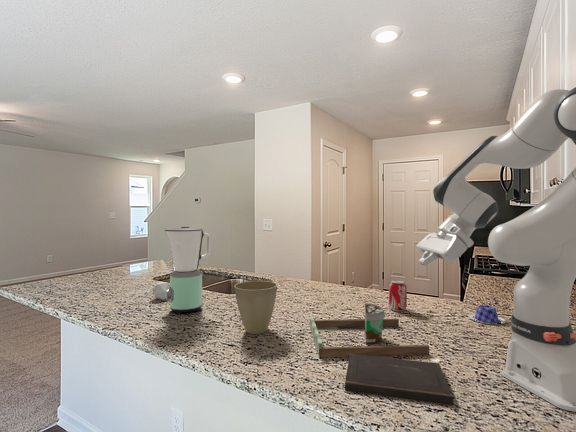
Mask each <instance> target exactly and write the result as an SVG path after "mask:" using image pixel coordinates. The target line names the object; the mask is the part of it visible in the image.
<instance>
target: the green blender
mask: <svg viewBox="0 0 576 432" xmlns="http://www.w3.org/2000/svg"><path fill="white" fill-rule="evenodd" d="M164 232H165V233H166V235H167V237H168V240H169V244H170V248H171V249H170V250H171V253H172V259H173V260H172V261H173V265H174V270H173V271H172V272H171V274H170V276H169V285H170V287H169V289H168V290H166V291H165V297H166V299H165V300H168V302H169V308H170V310H172V312H175V313H176V315H181V314H182V313H189V312H190V313H191V312H194V311H195V312H201V308H202V307H203V275H202V272H201V271H200V269H198V268H199V264H200V261H201V260H202V259H203V260H204V259H207V258H208V257H209V256H210V254H211V251H212V237H211V235H210V233H208V232H204V230H203V228H198V227H197V228H194V227H189V226H181V227H178V228H177V227H176V228H170V229H169V228H168V229H164ZM203 237H206V251H205V253H204V254H201V252H202V244H203V243H202V242H203V239H204V238H203Z"/></svg>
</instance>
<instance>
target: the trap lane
mask: <svg viewBox="0 0 576 432" xmlns="http://www.w3.org/2000/svg"><path fill="white" fill-rule="evenodd" d="M399 324H400V323H399V318H383V324H382V328H384V327H388V328H389V327H399ZM309 330H310V333H311V336H312V339H313V343H314V345H315V348H316V352H317V356H318V358H349V356H350V354H357V355H366V356H375V357H394V356H397V357H398V356H430V345H429V344H408V345H407V344H405V345H404V344H403V345H401V344H400V345H366V346H365V345H362V346H361V345H360V346H358V345H357V346H355V345H354V346H323V341H322V339H321V335H320V333H319V332H338V331H339V332H343V331H347V332H348V331H351V332H352V331H365V318H358V319H355V318H354V319H353V318H352V319H349V318H348V319H346V318H345V319H314V316H313V315H310V316H309Z"/></svg>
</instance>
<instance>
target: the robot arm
mask: <svg viewBox="0 0 576 432" xmlns="http://www.w3.org/2000/svg"><path fill="white" fill-rule="evenodd" d="M568 139H570V140H571V141H572V142H573V144H574V145H575V146H576V87H573V88H572V89H570V90H568V89H561V88H559V89H552V90H548V91H547V92H544V93H543V94H541V95H540V96H539V97H538V98H537V99H536V100H534V102H532V104H531V105H530V106H529V107H527V109H526V110H525V111H524V112H523V113H522V114H521V115H520V116H519V118H517V120H516V121H515V122H514V124H513V125H512V126H511V127H510V129H508V130H507V131H506V132H505V133H503V134H501V135H491V136H489V137H487V138H485V140H483V141H482V142H481V143H479V144H478V145H477V146H476V147H475V148H474V149H473V150H472V151H471V152H470V153H469V154H468V155H466V156H465V158H463V159H462V160H461V162H459V164H458V165H456V166H455V167H454V168H453V169H452V170H451V172H449V173H448V174H447V175H445V176H444V177H443V178H441V179H440V180H439V181H438V182H437V183H436V184H435V186H434V187H433V191H432V193H433V198H434V201H435V202H436V203H438V204H440V205H441V206H443V207H445V208H446V209H448V210H449V211H451V212H452V214H451V215H450V216H448V217H447V218H446V219H445V220H443V222H442V223H441V224H440V225H439V226H438V227H437V228H436V230H437V231H436V232H430V233H428V234H427V235H426V236H424V237H423V238H422V239H421V240H420V241H419V242H418V243H417V244H416V248H417V249H418V251H420V252H421V253H422V256H421V257H420V258H419V259H418V263H419V264H420V265H421V266H424V267H427V266H428V265H429V264H431V263H433V262H434V261H436V260H437V259H440V260H443V261H446V262H448V263H449V262H450V263H452V262H454V261H457V260H458V259H459V258H460V257H461V256H462V255H463V254H464V253H465V252H466V251H467V250H468V248H471V247H472V246H473V245H474V243H475V242H474V240H473V239H472V238H471V236H472V234H473V233H474V231H475V230H477V229H484V228H485V227H486V226H487V225H488V224H489V223H490V222H491V221H492V220H493V219H494V218H495V217H497V215H498V214H499V207H498V203H497V201H496V200H495V199H494V198H493V197H492V196H491V195H490V194H488V193H486V192H483V191H482V190H480V189H479V188H477V187H476V186H474V185H473V184H471V183H469V181H467V179H466V177H468V175H469V174H470V173H472V172H473V170H475V169H476V168H477V167H478V166H480V165H482V164H491V165H497V166H500V167H501V166H502V167H506V168H510V169H517V170H518V169H519V170H521V169H522V170H525V169H532V168H536V167H538V166H541V165H542V164H544V163H545V162H546V161H547V160H548V159H550V158H551V157H552V156H553V155H554V154H555V153H556V152H557V151H558V150H559V149H560V148H561V147H562V146H563V144H564V143H565V142H566V141H567V140H568ZM487 245H488V249H489V253H491V255H492V256H493V258H494V260H497V261H498V262H500V263H503V264H508V265H514V266H520V267H523V266H524V267H529V269H528V271H527V272H526V274H525V275H524V276H523V277H522V278H521V279H519V281H517V282H516V283H515V285H514V286H513V309H512V310H513V311H512V312H513V314H512V315H511V320H510V329H511V331H512V334H511V337H510V339H509V342H508V345H507V350H506V351H507V352H506V361H505V367H504V368H503V369H502V371H501V376H502V377H504V378H506V379H508V380H510V381H511V382H513V383H515V384H516V385H518V386H519V387H521V388H524V389H525V390H527V391H529V392H530V393H533V394H534V395H536V396H537V397H540V398H541V399H543V400H545V401H547V403H550V404H551V405H553V406H554V407H557V408H560V409H561V410H564V411H570V412H574V413H575V412H576V333H575V332H574V330H573V327H572V324H570V308H571V295H572V289H573V286H574V283H575V280H576V167H574V169H573V170H572V171H571V172H569V174H568V176H566V177H565V179H564V180H562V182H561V183H560V184H559V185H558V186H556V188H555V189H554V190H553V191H552V192H551V193H550V194H549V195H547V197H545V198H544V199H543V200H541V201H540V202H538V203H537V204H536V205H534V206H532V207H531V208H530V209H528V210H527V211H525V212H523V213H522V214H520V215H518V216H516V217H515V218H513V219H511V220H508V221H507V222H504V223H500V224H498V225H496V226H495V227H493V228H492V230H490V233H489V236H488V239H487Z"/></svg>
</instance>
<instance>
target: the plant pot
mask: <svg viewBox="0 0 576 432" xmlns="http://www.w3.org/2000/svg"><path fill="white" fill-rule="evenodd" d="M277 291H278V283H276V282H273V281H271V280H270V281H268V280H249V281H247V280H246V281H242V282H238V283H235V284H234V293H235V299H236V303H237V305H236V306H237V308H238V313H239V315H240V320H241V322H242V324H243V328H244V330H245V332H246V334H247V333H248V334H250V335H261V334H264V333H266V332H267V330H268V328H269V326H270V322H271V320H272V316H273V312H274V309H275V304H276V298H277Z"/></svg>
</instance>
